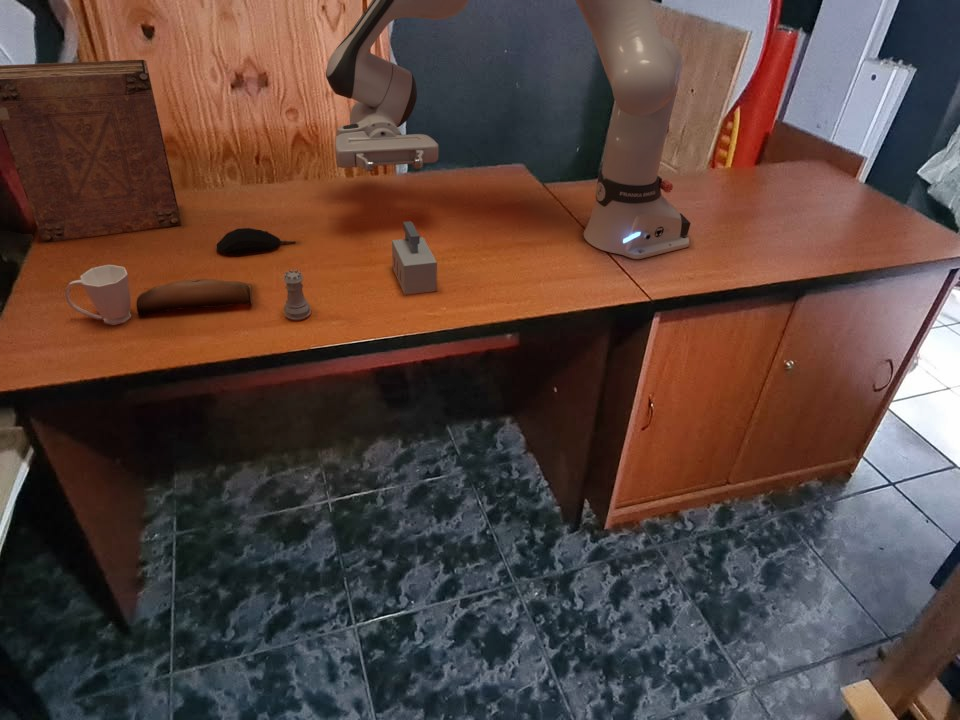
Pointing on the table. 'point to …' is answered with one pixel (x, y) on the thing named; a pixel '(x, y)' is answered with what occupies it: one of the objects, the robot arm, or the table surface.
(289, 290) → the rook chess piece
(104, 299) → the cup
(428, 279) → the grey box with ridge
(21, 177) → the book
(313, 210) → the table surface
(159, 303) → the sunglasses case
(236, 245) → the gaming mouse
